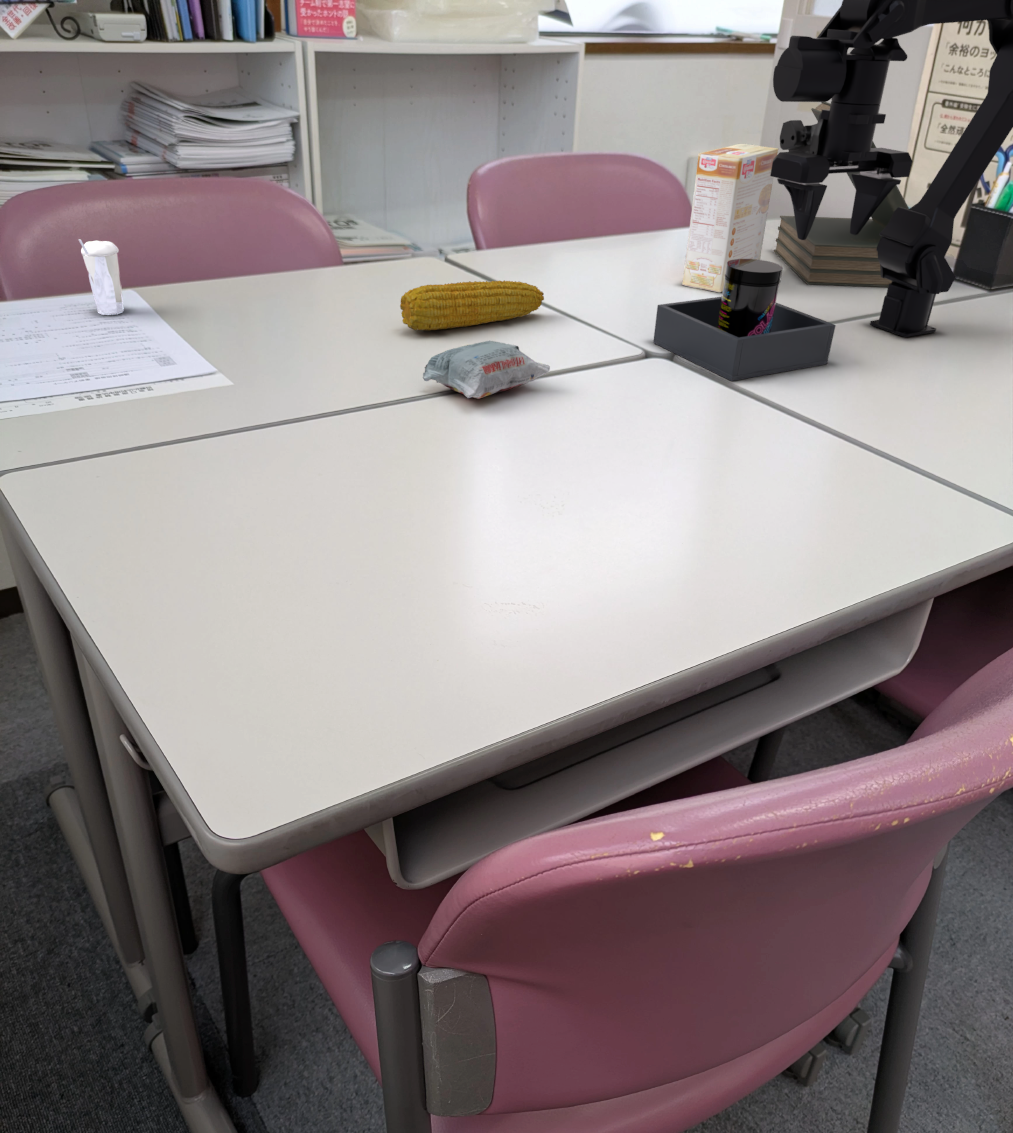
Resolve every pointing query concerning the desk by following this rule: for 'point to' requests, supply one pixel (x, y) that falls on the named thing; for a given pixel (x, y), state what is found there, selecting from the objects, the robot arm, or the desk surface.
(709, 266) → the coffeecake box
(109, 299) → the milkshake
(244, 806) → the desk surface
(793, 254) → the stack of books
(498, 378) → the packaged food
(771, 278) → the supplement container
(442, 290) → the food
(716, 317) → the square tray
